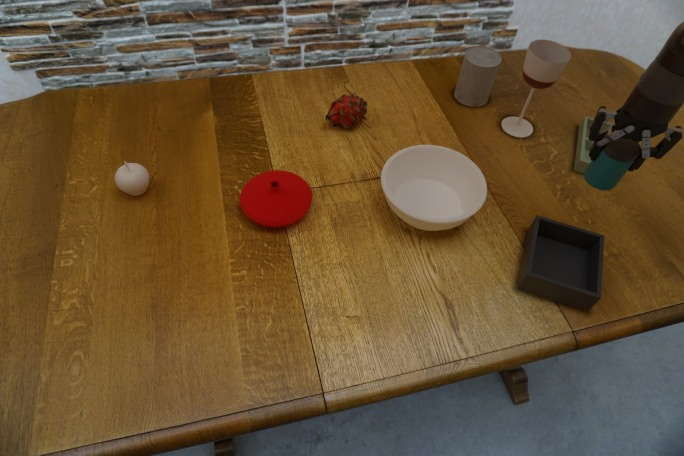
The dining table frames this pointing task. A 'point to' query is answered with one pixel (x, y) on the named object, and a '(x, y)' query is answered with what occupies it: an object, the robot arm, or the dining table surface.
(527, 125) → the wineglass
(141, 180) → the plain white apple
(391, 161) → the bowl
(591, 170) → the travel mug
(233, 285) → the dining table surface
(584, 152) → the green divided tray
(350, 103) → the dragon fruit
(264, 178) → the red disc with nozzle
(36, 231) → the dining table surface
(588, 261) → the dark grey open box
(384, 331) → the dining table surface
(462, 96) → the gray cylinder
